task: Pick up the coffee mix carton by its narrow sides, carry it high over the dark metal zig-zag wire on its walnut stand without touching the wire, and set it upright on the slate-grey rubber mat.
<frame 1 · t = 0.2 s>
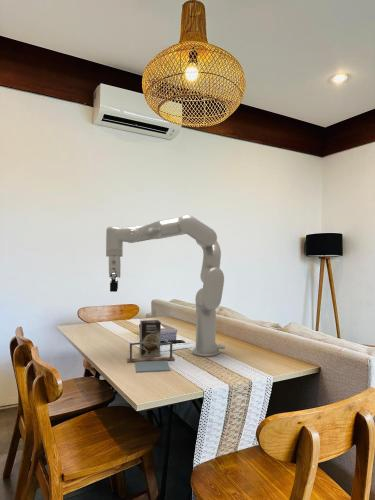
hand: (114, 290, 160), 31 cm above the table, tool pointing down, fingers open, 9 cm apart
wire stand: (151, 361, 154), on the table
coffee box: (149, 355, 163), on the table
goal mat: (152, 366, 146), on the table
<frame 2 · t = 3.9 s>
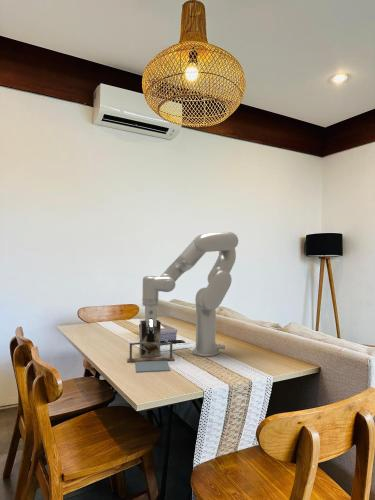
hand: (149, 339, 163), 7 cm above the table, tool pointing down, fingers closed on coffee box, 6 cm apart
coffee box: (149, 355, 163), on the table, touching gripper
everything else where it was.
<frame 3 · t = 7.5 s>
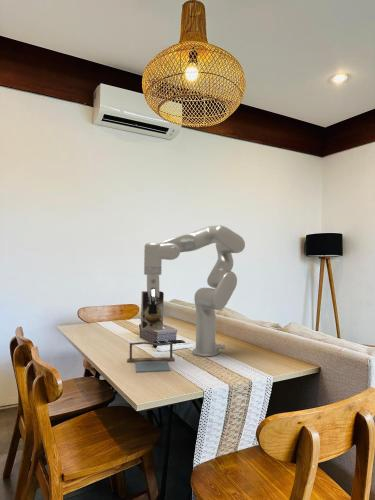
hand: (152, 311, 150), 23 cm above the table, tool pointing down, fingers closed on coffee box, 6 cm apart
coffee box: (151, 329, 150), point 15 cm above the table, touching gripper
everything else where it was.
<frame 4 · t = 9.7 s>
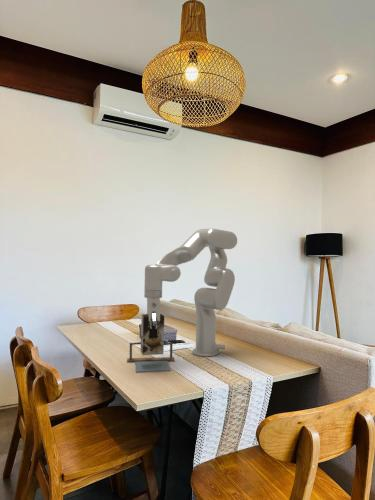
hand: (152, 335, 146), 13 cm above the table, tool pointing down, fingers closed on coffee box, 6 cm apart
coffee box: (152, 353, 146), point 6 cm above the table, touching gripper
everything else where it was.
when the fingers open (9 cm above the table, at t = 11.4 s): coffee box drops 1 cm, resting on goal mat.
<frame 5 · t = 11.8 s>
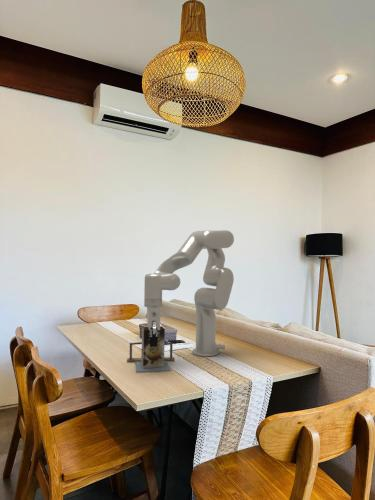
hand: (152, 343, 146), 10 cm above the table, tool pointing down, fingers open, 9 cm apart
coffee box: (152, 365, 147), resting on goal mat
everything else where it was.
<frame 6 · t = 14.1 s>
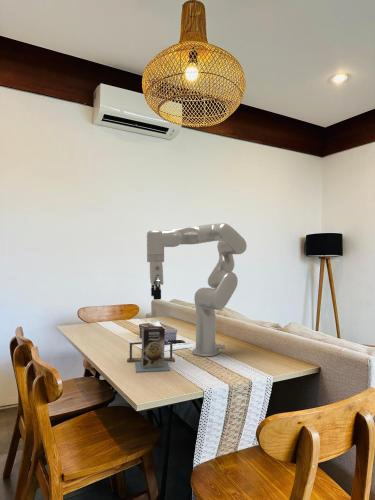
hand: (156, 297, 151), 29 cm above the table, tool pointing down, fingers open, 9 cm apart
nothing on the table moved.
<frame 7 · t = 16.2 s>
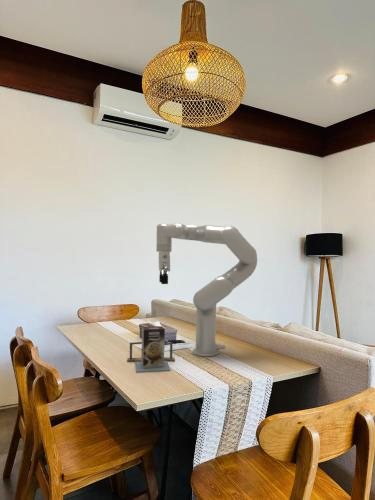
hand: (163, 283, 172), 33 cm above the table, tool pointing down, fingers open, 9 cm apart
nothing on the table moved.
at the end: coffee box inside the target area on the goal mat (0.4 cm from its centre), point 0.3 cm above the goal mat's base; coffee box tilted 0°; wire stand moved 0.3 cm from its start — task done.
